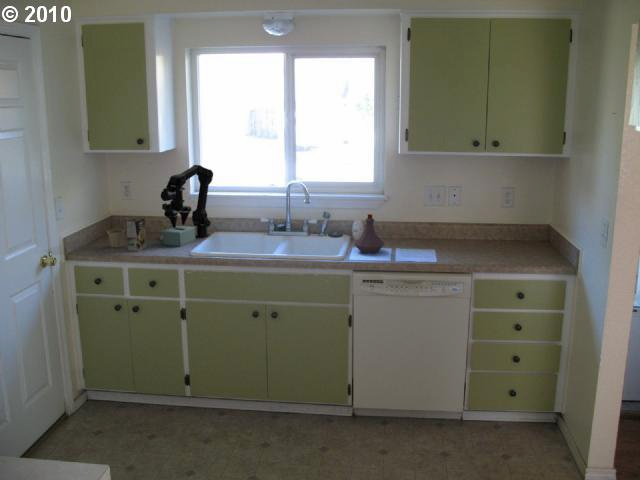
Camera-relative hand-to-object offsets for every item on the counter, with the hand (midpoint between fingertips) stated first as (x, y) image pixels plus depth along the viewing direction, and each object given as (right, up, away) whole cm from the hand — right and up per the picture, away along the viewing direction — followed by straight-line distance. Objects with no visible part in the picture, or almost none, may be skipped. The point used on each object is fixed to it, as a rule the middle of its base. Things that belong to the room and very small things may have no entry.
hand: (178, 226), depth 363 cm
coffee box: (-20, -13, -13) cm, 27 cm away
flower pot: (-32, -11, -7) cm, 35 cm away
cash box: (0, -9, +2) cm, 10 cm away
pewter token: (-10, -7, +12) cm, 17 cm away
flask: (+105, -14, -16) cm, 107 cm away
